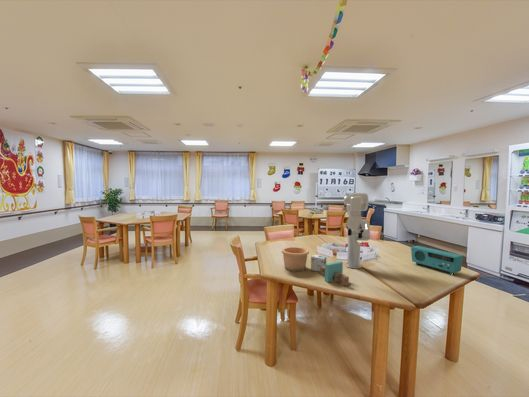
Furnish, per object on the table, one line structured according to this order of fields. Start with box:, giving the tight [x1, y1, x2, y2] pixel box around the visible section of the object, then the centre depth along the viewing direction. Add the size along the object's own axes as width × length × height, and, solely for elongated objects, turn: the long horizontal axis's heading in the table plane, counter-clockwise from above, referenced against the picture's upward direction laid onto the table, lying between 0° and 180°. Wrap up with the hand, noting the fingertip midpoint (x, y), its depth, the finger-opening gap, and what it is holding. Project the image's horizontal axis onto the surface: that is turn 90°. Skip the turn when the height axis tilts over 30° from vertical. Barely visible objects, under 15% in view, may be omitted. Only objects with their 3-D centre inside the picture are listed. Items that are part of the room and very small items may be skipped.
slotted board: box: [319, 266, 350, 287], centre depth 168 cm, size 24×3×6 cm, turn 29°
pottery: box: [281, 246, 310, 272], centre depth 193 cm, size 22×22×14 cm
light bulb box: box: [310, 254, 327, 272], centre depth 188 cm, size 11×7×11 cm, turn 59°
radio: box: [410, 245, 464, 275], centre depth 192 cm, size 34×10×15 cm, turn 27°
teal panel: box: [324, 260, 344, 283], centre depth 168 cm, size 14×3×12 cm, turn 120°
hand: (354, 236), depth 175 cm, fingers open, 9 cm apart
